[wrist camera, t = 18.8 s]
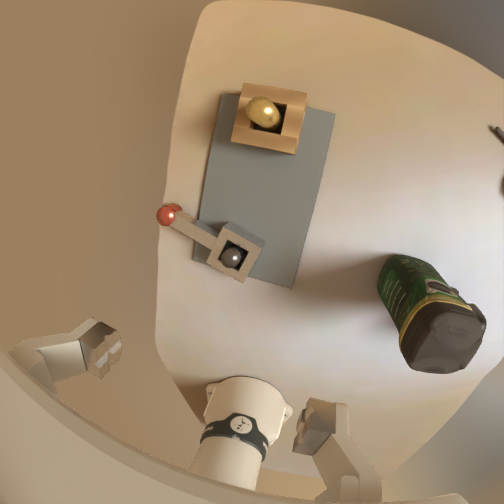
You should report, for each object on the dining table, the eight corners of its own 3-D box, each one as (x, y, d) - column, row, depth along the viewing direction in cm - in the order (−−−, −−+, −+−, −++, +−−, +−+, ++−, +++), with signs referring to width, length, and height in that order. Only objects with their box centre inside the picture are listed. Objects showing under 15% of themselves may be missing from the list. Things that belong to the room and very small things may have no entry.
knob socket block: (266, 242, 40) (261, 248, 37) (247, 275, 42) (242, 283, 39) (174, 191, 40) (163, 194, 37) (161, 224, 43) (151, 229, 40)
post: (245, 258, 41) (236, 270, 37) (230, 253, 42) (219, 265, 37) (248, 243, 41) (239, 253, 36) (233, 238, 41) (222, 249, 36)
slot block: (295, 155, 35) (293, 154, 31) (239, 143, 36) (230, 141, 33) (307, 100, 32) (306, 93, 29) (250, 90, 33) (243, 82, 30)
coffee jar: (370, 295, 39) (394, 378, 22) (387, 247, 37) (433, 311, 19) (420, 308, 38) (461, 385, 21) (439, 264, 35) (498, 327, 18)
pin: (281, 134, 35) (271, 124, 26) (260, 130, 35) (243, 120, 27) (285, 113, 34) (276, 98, 25) (264, 109, 34) (249, 94, 26)
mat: (291, 287, 42) (291, 288, 41) (194, 259, 44) (193, 260, 44) (335, 114, 33) (335, 113, 32) (223, 94, 35) (222, 93, 34)
